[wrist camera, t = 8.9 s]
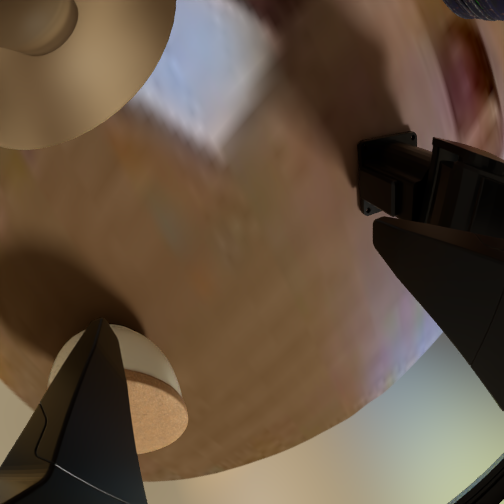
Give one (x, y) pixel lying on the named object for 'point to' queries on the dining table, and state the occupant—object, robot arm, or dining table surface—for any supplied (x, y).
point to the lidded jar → (144, 389)
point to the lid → (74, 64)
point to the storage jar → (477, 9)
